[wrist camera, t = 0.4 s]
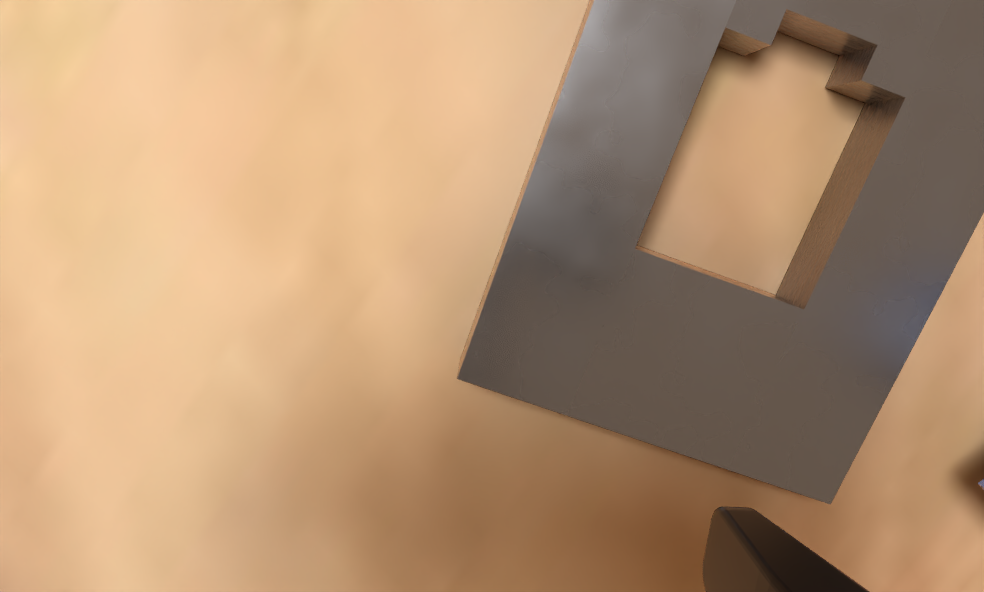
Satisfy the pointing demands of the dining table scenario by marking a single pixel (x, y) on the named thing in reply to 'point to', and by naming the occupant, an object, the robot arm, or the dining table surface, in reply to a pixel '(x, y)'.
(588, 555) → the dining table surface
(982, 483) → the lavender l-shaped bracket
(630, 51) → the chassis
